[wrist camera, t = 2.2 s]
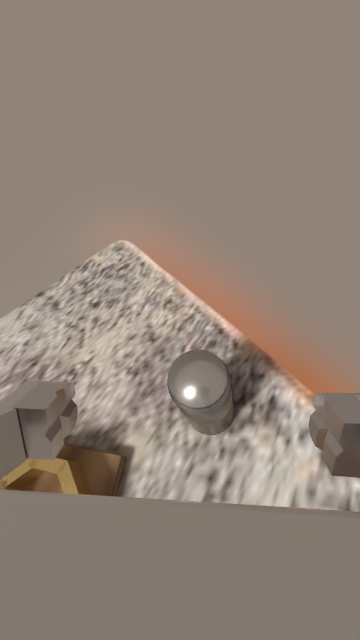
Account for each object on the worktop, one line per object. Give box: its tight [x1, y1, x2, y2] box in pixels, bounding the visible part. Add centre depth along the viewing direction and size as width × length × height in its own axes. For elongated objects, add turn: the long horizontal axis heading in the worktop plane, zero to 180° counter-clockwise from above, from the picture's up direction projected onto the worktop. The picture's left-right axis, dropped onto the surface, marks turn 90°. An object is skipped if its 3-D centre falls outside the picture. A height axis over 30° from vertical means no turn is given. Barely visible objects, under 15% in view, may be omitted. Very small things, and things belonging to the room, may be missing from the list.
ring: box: [0, 458, 92, 495], centre depth 24 cm, size 9×9×2 cm
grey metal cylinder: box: [167, 350, 234, 435], centre depth 25 cm, size 5×5×10 cm
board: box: [22, 444, 126, 497], centre depth 26 cm, size 12×12×1 cm
